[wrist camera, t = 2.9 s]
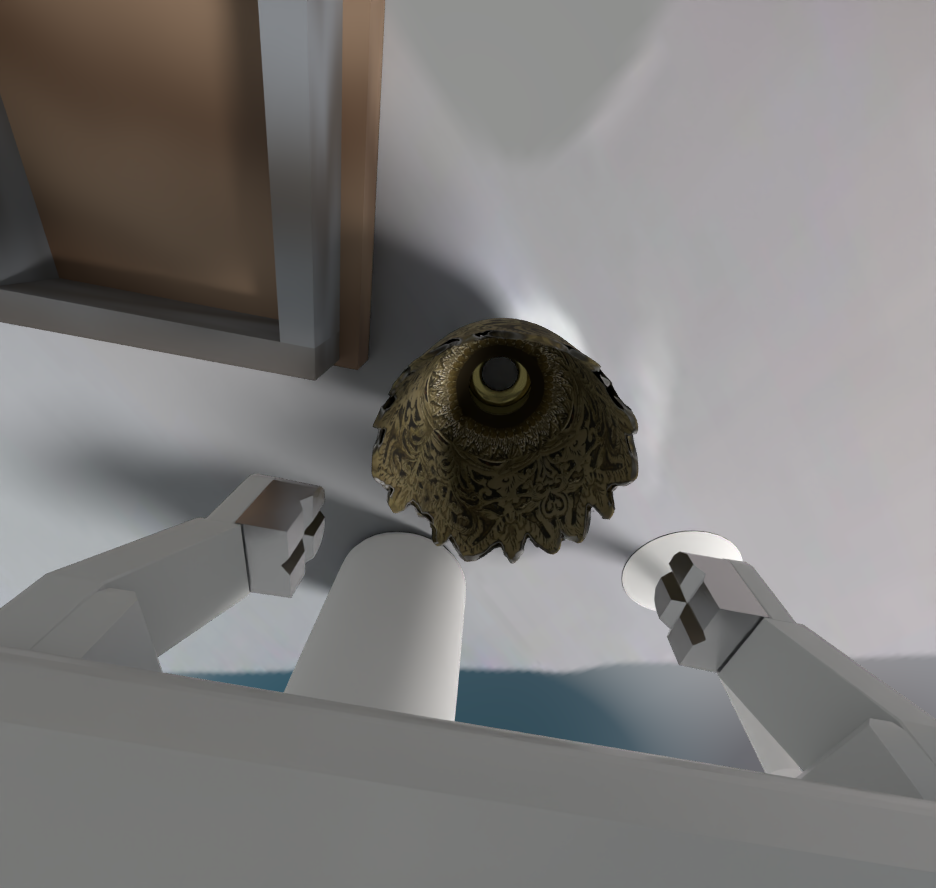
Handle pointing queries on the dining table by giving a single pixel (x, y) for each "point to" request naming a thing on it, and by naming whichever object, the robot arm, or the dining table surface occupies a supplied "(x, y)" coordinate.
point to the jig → (193, 175)
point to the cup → (504, 441)
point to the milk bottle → (389, 630)
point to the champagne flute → (641, 589)
